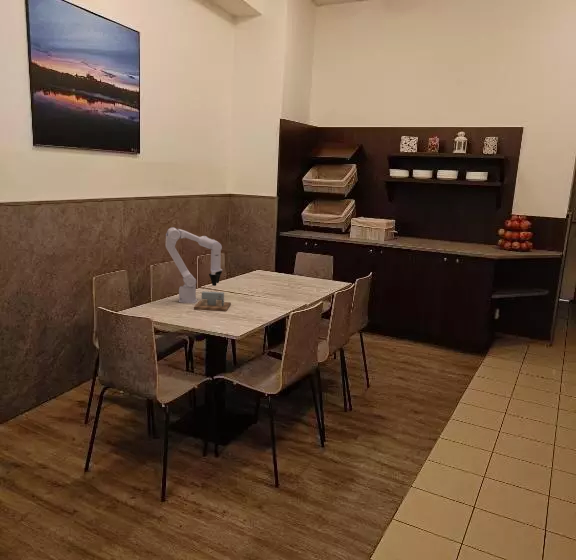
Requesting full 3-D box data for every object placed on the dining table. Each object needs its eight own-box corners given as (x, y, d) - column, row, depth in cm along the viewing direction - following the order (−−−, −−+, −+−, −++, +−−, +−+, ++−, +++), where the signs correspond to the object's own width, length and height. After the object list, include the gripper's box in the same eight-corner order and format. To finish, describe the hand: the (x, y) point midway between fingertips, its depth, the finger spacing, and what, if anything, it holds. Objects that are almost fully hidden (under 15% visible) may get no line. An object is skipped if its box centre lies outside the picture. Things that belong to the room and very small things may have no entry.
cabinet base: (193, 309, 277) (193, 300, 276) (199, 303, 290) (199, 294, 289) (226, 311, 276) (226, 302, 275) (230, 305, 289) (230, 296, 288)
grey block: (201, 305, 281) (201, 292, 279) (202, 303, 285) (202, 291, 283) (222, 306, 280) (222, 293, 279) (223, 304, 284) (224, 292, 283)
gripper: (220, 264, 288) (219, 287, 291) (224, 260, 302) (224, 282, 305) (207, 263, 288) (207, 286, 291) (213, 259, 302) (212, 281, 305)
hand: (215, 284), depth 298 cm, fingers open, 7 cm apart
